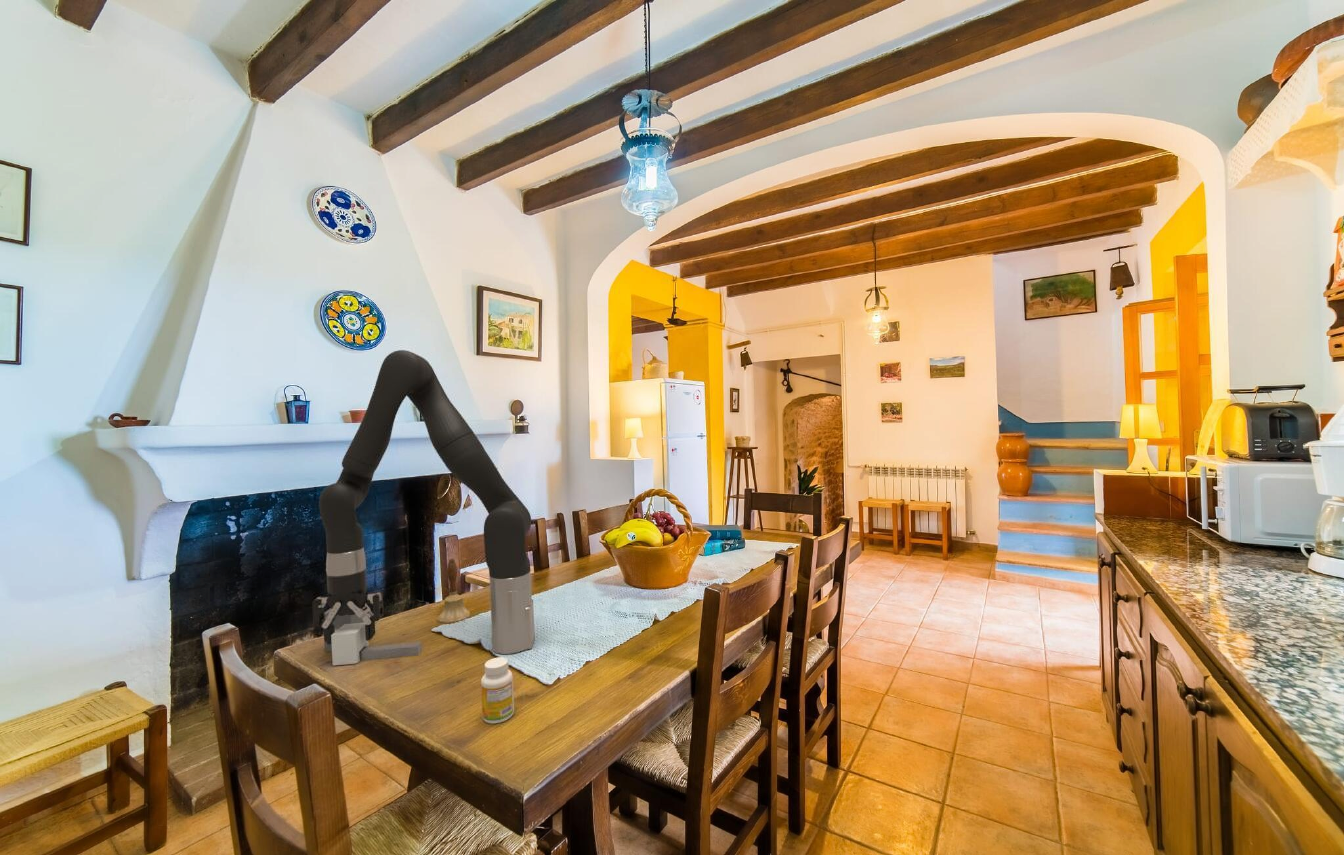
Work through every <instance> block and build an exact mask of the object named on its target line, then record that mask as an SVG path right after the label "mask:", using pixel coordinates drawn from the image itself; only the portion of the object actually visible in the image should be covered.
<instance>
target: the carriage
mask: <svg viewBox="0 0 1344 855" xmlns="http://www.w3.org/2000/svg"><path fill="white" fill-rule="evenodd" d="M365 625H366V623H354V624H344V625H343V626H342V627H341V628H339V629H338V630H337V631H336V632H334V633H333V634H332V635H331V642H332V651H331V654H332V655H331V658H332V666H333V667H334V666H341V665H353V664H358V663H359V662H360V661H361V660H360V659H359V651H360V650H361V649H362V648H363V647H370V646H369V645H370V644H369V641H366V637H365Z"/></svg>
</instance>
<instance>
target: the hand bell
mask: <svg viewBox="0 0 1344 855" xmlns="http://www.w3.org/2000/svg"><path fill="white" fill-rule="evenodd" d="M446 575H447V578H448V581H449V595H448V596H447V597H445V598H444V604H443V608H442V611H441V613H440V614H439V615H438V616H437V622H439V623H443V624H451V623H452V624H453V623H457V622H461V621H465V620H466V619H468V618H470V616H471V612H470V610H468V609H467V608H466V606H465V604H464V599H463V596H462V595H460V594H458V592H457V589H458V588H457V577H458V566H457V563H456V560H455V558H449V559H448V564H447V567H446Z"/></svg>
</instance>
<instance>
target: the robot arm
mask: <svg viewBox="0 0 1344 855" xmlns="http://www.w3.org/2000/svg"><path fill="white" fill-rule="evenodd" d="M406 397H407V398H408V399H409V400H410V401H411V403H412V404H413V405H414V407H415V408H416V409H417V411H418V412H419V413H420V415H421V417H422V419H423V421H424V424H425V427H426V428H425V429H426V431H427V433H428V434H427V435H428V437H429V440H430V442H431V444H432V446H433V448H434V450H435V452H436V454H437V455H438V457H439V458H440V460H441V461H442V462H443V464H444V466H445V467H446V468H447V470H448V471H449V472H450V473H451V474H452V475H453V476H454V477H455V478H456V479H458V481H459V482H461V483H462V484H463V485H464V486H466V487H467V488H468V489H469V490H470V491H471V492H473V493H474V495H476V496H477V498H478V499H479V500H480V501H481V502H480V503H482V505H483V507H484V508H485V510H486V511H487V515H486V518H485V520H484V524H483V545H484V554H485V556H484V557H485V563H486V566H487V568H488V574H489V576H488V577H489V596H490V598H489V600H490V620H491V622H490V623H491V624H490V625H491V644H492V645H491V646H492V648H491V649H492V651H493V652H495V653H497V654H501V655H502V654H503V655H510V654H516V653H520V651H521V652H522V651H526V650H532V649H533V645H534V641H535V638H536V636H535V635H536V634H535V633H536V632H535V613H534V612H535V610H534V600H533V599H532V597H533V596H532V575H531V560H530V558H529V557H528V555H527V547H526V546H527V545H526V535H527V534H529V531H530V529H531V526H532V516H531V513H530V511H529V509H528V508H527V507H526V505H525V504H524V503H523V502H522V501H521V499H520V498H519V497H518V495H516V494H515V492H514V491H513V489H511V487H510V486H509V485H508V484H507V483H506V481H505V479H504V478H503V477H502V475H501V474H500V472H499V470H498V468H497V467H496V465H495V463H494V462H493V461H492V459H491V457H490V455H489V453H488V452H487V451H486V450H485V447H484V446H483V444H482V443H481V441H480V439H479V438H478V436H477V435H476V434H475V433H474V431H473V429H472V428H471V426H469V423H467V421H466V419H465V418H464V417H463V416H462V415H461V413H460V411H459V410H458V409H457V408H456V407H455V405H454V404H453V403H452V401H451V400H450V398H449V397H448V395H447V393H446V392H445V390H444V388H443V386H442V384H441V383H440V381H439V378H438V377H437V374H436V373H435V371H434V368H433V367H432V365H431V364H430V362H429V361H428V360H427V359H425V358H424V357H422V356H420V355H419V354H416V353H415V352H412V351H409V350H404V349H399V350H395V351H392V352H391V353H389V354H388V355H386V357H385V358H384V359H383V362H382V363H381V366H380V369H379V371H378V375H377V378H376V381H375V385H374V389H373V391H372V394H371V397H370V400H369V402H368V405H367V408H366V411H365V413H364V416H363V418H362V420H361V423H360V424H359V426H358V429H357V431H356V433H355V435H354V436H353V439H352V440H351V442H350V445H349V446H348V448H347V451H346V452H345V454H344V456H343V458H342V461H341V467H342V471H341V473H340V474H339V477H338V479H337V480H336V482H335V483H334V482H333V483H332V484H331V483H330V484H329V485H328V486H326V487H325V488H324V489H323V490H322V491H321V493H320V496H319V503H318V508H319V513H320V518H321V520H322V521H321V522H322V525H323V528H324V530H325V533H326V534H325V535H326V536H325V538H326V539H325V540H326V541H325V542H326V562H325V566H326V568H325V572H326V584H327V587H326V588H327V593H328V595H327V597H324V596H322V595H321V596H317V597H316V598H315V599H314V600H313V601H311V602H312V604H311V605H312V624H313V626H314V627H321V628H322V629H323V641H324V640H325V642H327V644H332V642H331V635H332V634H333V633H334V632H335V627H334V625H333V622H334V620H335V619H336V617H337V616H338V615H339V616H344V615H355V614H356V615H357V616H358V617H359V618H361V619H362V620H363V621H364V622H365V623H366V625H365V637H366V641H368V642H369V641H371V640H372V639H373V638H374V636H375V635H376V622H379V621H380V620H381V619H382V618H383V617H384V615H385V614H384V611H385V610H384V609H385V608H384V598H383V596H384V595H383V592H382V591H378V592H377V593H369V592H368V590H367V588H368V587H367V585H368V582H367V562H366V552H365V548H364V532H363V526H362V525H361V524H360V523H359V522H358V521H357V514H356V509H357V508H359V507H360V506H361V505H362V503H363V502H364V500H365V498H366V497H367V495H368V493H369V490H370V487H371V485H372V482H373V478H374V474H375V473H376V470H377V469H378V467H379V465H380V464H381V461H382V459H383V457H384V455H385V454H386V451H387V449H388V447H389V444H390V442H391V437H392V432H393V428H394V424H395V419H396V416H397V414H398V411H399V409H400V407H401V406H402V403H403V402H404V400H405V399H406ZM368 601H370V602H369V603H370V604H372V610H373V611H371V608H370V606H368V604H367V602H368ZM325 606H329V607H330V608H331V609H332V610H331V611H330V613H329V614H328V616H327V618H326V619H325V615H324V613H325ZM361 609H362V610H363V611H362V610H361ZM531 648H532V649H531Z"/></svg>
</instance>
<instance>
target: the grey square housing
mask: <svg viewBox="0 0 1344 855" xmlns="http://www.w3.org/2000/svg"><path fill="white" fill-rule="evenodd" d="M331 610H332V609H331V607H330V608H329V609H328V610H326V611H324V615H325V619H326V618H327V616H328V614H329V613H330V611H331ZM361 610H362V609H361ZM362 611H363V610H362ZM354 623H365V622H364V621H363V620H362V619H361V618H359V617H358V616H357V615H356V614H355V615H344V616H339V615H338V616H337V617H336V619H335V620H334V622H333V625H334V627H335V632H336V631H337V630H338V629H339V628H341V627H342V626H343V625H344V624H354ZM323 643H324V644H323V645H324V647H323V648H324V653H326V652H332V644H327V642H325V640H324V639H323Z"/></svg>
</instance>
